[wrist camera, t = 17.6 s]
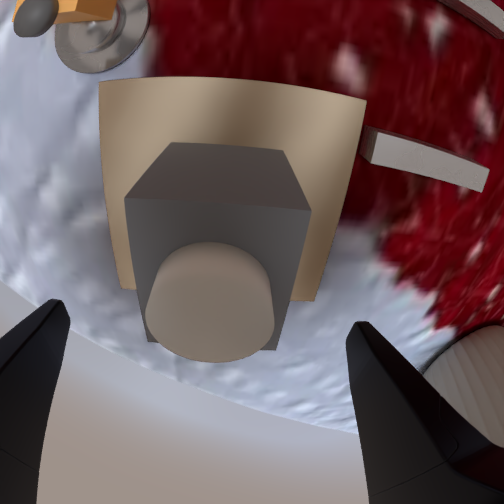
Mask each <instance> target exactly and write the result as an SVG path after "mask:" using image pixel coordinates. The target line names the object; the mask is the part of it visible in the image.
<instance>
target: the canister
mask: <svg viewBox="0 0 504 504" xmlns="http://www.w3.org/2000/svg"><path fill="white" fill-rule="evenodd" d="M423 377H424V378H425V379H426V380H427V381H428V382H429V383H430V384H431V385H432V386H433V387H434V388H435V389H436V390H437V391H438V392H439V393H440V396H443V397H444V399H445V400H446V401H447V402H448V403H449V404H450V405H451V406H452V407H453V408H454V409H455V410H456V411H457V412H458V413H459V414H460V415H461V416H463V417H464V418H465V419H466V420H467V421H468V422H469V423H470V424H471V425H473V426H474V427H475V428H476V429H477V430H478V431H479V432H481V433H482V434H483V435H484V436H485V437H486V438H487V439H488V440H490V441H491V442H492V443H494V444H496V445H498V446H500V447H503V448H504V327H502V326H497V325H493V326H488V327H483V328H481V329H478V330H476V331H475V332H472V333H470V334H469V335H467V336H465V337H464V338H462V339H461V340H459V341H457V342H456V343H455V344H454V345H452V346H451V347H450V348H449V349H447V350H446V351H444V353H443V354H441V355H440V356H439V357H438V358H437V359H436V360H435V361H434V362H433V363H432V364H431V365H430V366H429V367H428V369H427V370H426V371H425V373H424V375H423Z"/></svg>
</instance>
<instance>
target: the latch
mask: <svg viewBox="0 0 504 504" xmlns="http://www.w3.org/2000/svg"><path fill="white" fill-rule="evenodd" d="M116 3H117V0H18V1H17V4H16V8H15V12H14V15H13V19H12V22H14V31H15V33H16V34H17V35H18V36H19V37H38V36H40V35H42V34H44V33H45V32H46V31H47V30H48V29H49V28H50V27H51V26H52V25H53V24H60V23H69V22H80V21H97V20H112V16H113V13H114V9H115V6H116Z"/></svg>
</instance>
